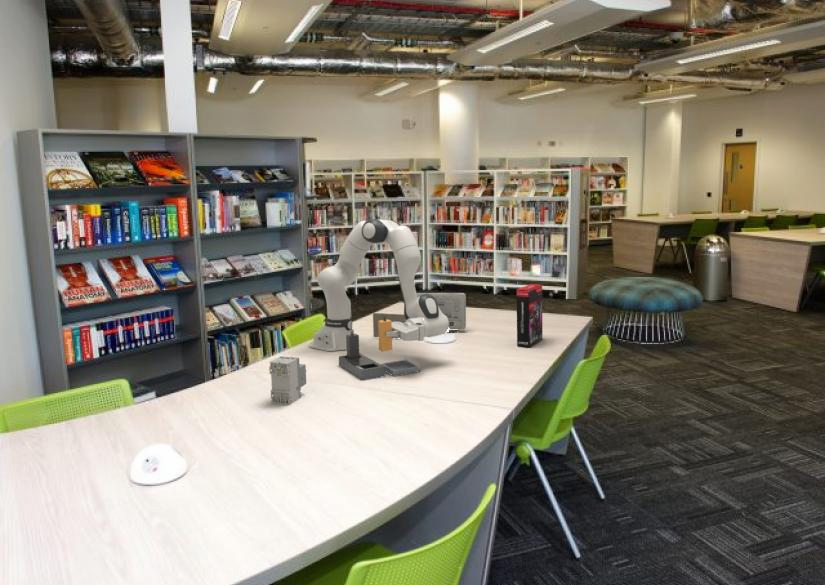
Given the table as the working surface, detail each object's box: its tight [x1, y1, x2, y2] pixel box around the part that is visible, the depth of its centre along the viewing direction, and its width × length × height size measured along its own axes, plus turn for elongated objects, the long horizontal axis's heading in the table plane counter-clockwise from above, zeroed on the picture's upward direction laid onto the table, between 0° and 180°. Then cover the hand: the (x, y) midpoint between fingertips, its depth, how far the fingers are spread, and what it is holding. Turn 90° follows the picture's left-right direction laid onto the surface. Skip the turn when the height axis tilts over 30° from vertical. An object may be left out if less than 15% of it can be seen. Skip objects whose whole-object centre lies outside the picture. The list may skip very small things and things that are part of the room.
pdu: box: [338, 352, 386, 381], centre depth 267 cm, size 24×10×4 cm, turn 29°
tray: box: [380, 359, 421, 377], centre depth 267 cm, size 12×12×2 cm
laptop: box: [372, 312, 406, 338], centre depth 324 cm, size 18×12×13 cm
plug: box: [378, 315, 393, 352], centre depth 261 cm, size 3×4×14 cm
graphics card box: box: [516, 283, 543, 348], centre depth 304 cm, size 17×7×27 cm, turn 148°
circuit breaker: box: [268, 355, 307, 406], centre depth 235 cm, size 8×14×15 cm, turn 161°
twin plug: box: [346, 328, 360, 359], centre depth 273 cm, size 3×4×14 cm
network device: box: [416, 292, 467, 333], centre depth 330 cm, size 26×9×20 cm, turn 84°
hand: (383, 333), depth 261 cm, fingers closed on plug, 3 cm apart
